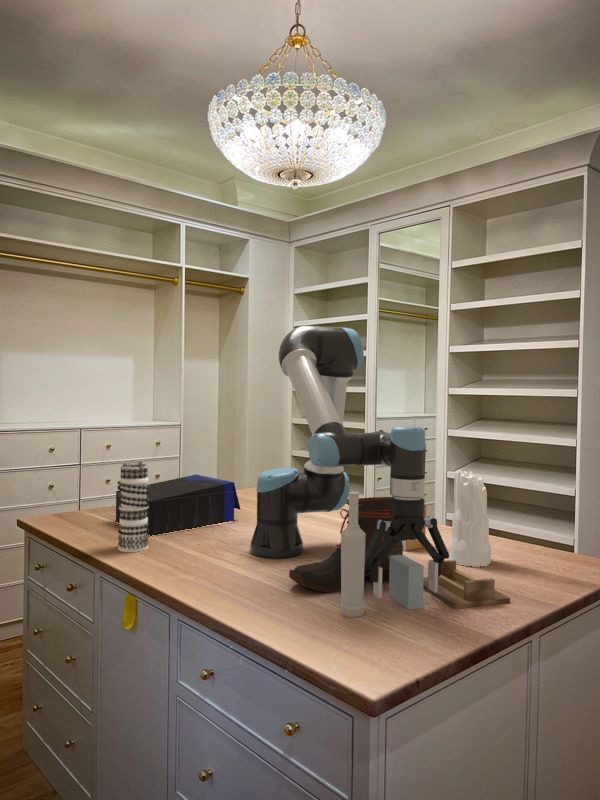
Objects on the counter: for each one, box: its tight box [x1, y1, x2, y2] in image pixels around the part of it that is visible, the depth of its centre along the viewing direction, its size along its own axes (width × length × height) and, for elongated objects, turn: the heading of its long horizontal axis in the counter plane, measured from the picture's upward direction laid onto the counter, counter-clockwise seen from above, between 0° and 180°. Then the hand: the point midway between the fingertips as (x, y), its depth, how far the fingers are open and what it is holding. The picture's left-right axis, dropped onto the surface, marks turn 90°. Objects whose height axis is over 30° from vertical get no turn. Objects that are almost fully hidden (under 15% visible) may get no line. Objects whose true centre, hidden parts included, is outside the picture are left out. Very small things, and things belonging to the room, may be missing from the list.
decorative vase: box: [448, 469, 492, 568], centre depth 162 cm, size 11×11×25 cm
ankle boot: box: [288, 496, 404, 593], centre depth 144 cm, size 11×31×20 cm, turn 116°
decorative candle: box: [117, 460, 150, 553], centre depth 171 cm, size 9×9×25 cm
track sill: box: [423, 559, 511, 610], centre depth 137 cm, size 14×18×5 cm
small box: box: [402, 503, 427, 552], centre depth 177 cm, size 8×6×13 cm
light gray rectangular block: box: [388, 554, 425, 611], centre depth 130 cm, size 4×9×9 cm, turn 18°
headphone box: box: [115, 474, 241, 537], centre depth 206 cm, size 25×35×14 cm
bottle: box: [339, 491, 366, 618], centre depth 123 cm, size 5×5×25 cm
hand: (405, 593), depth 131 cm, fingers open, 13 cm apart
